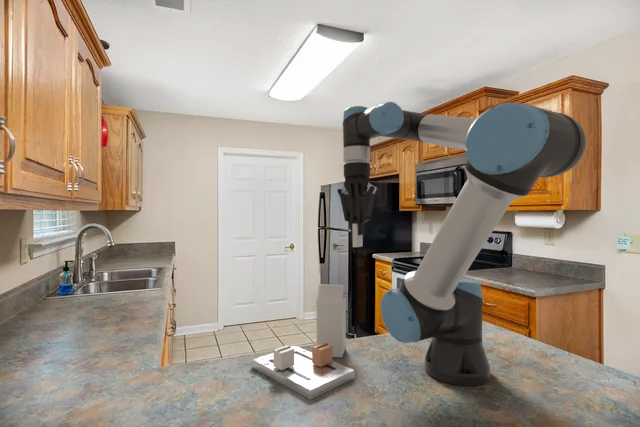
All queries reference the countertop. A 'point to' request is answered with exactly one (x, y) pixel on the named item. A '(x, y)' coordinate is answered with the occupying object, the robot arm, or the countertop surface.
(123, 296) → the countertop surface
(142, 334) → the countertop surface
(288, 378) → the console
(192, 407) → the countertop surface
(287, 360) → the block
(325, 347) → the fader
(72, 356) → the countertop surface
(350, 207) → the robot arm
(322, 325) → the milk carton
